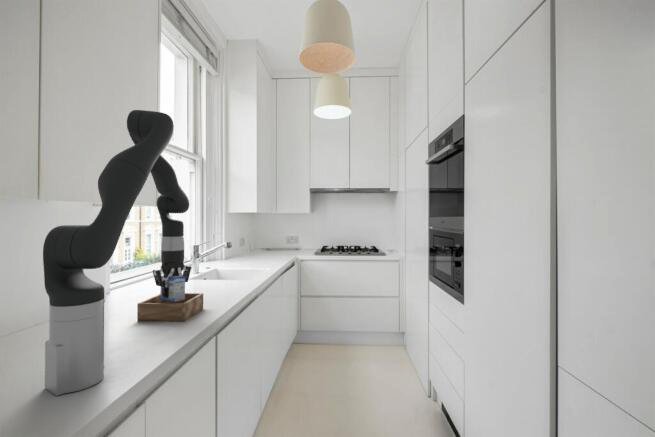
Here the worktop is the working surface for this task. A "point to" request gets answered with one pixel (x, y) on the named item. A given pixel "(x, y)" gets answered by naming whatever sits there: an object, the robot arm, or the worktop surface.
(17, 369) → the worktop surface
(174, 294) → the medicine box
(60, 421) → the worktop surface
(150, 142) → the robot arm
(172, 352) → the worktop surface
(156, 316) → the storage box
